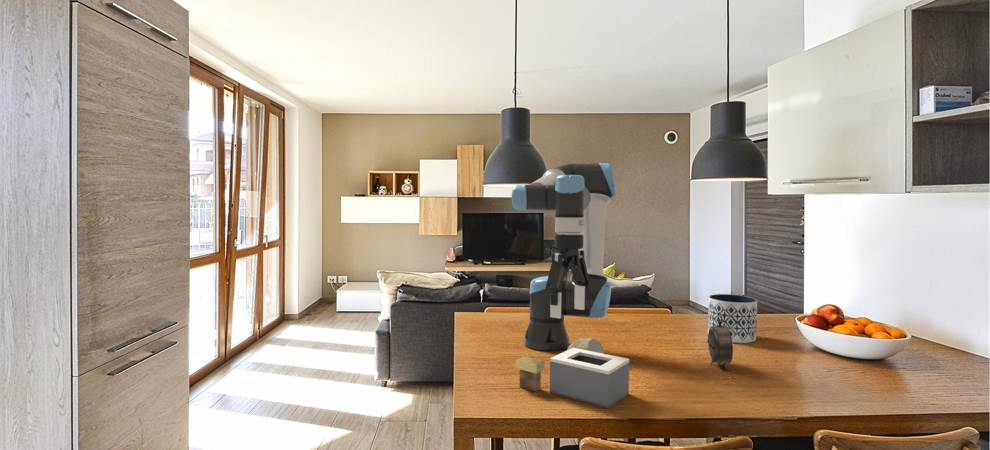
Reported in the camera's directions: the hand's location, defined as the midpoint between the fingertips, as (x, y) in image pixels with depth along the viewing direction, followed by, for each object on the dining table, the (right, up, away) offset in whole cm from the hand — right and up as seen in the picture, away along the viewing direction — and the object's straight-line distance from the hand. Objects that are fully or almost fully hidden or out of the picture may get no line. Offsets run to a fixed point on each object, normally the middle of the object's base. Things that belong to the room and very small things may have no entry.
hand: (568, 313), depth 137 cm
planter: (+66, -17, +48) cm, 83 cm away
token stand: (-10, -19, -3) cm, 22 cm away
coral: (+7, -19, +13) cm, 24 cm away
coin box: (+5, -19, -6) cm, 21 cm away
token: (-10, -14, -3) cm, 18 cm away
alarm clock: (+47, -19, +16) cm, 53 cm away
